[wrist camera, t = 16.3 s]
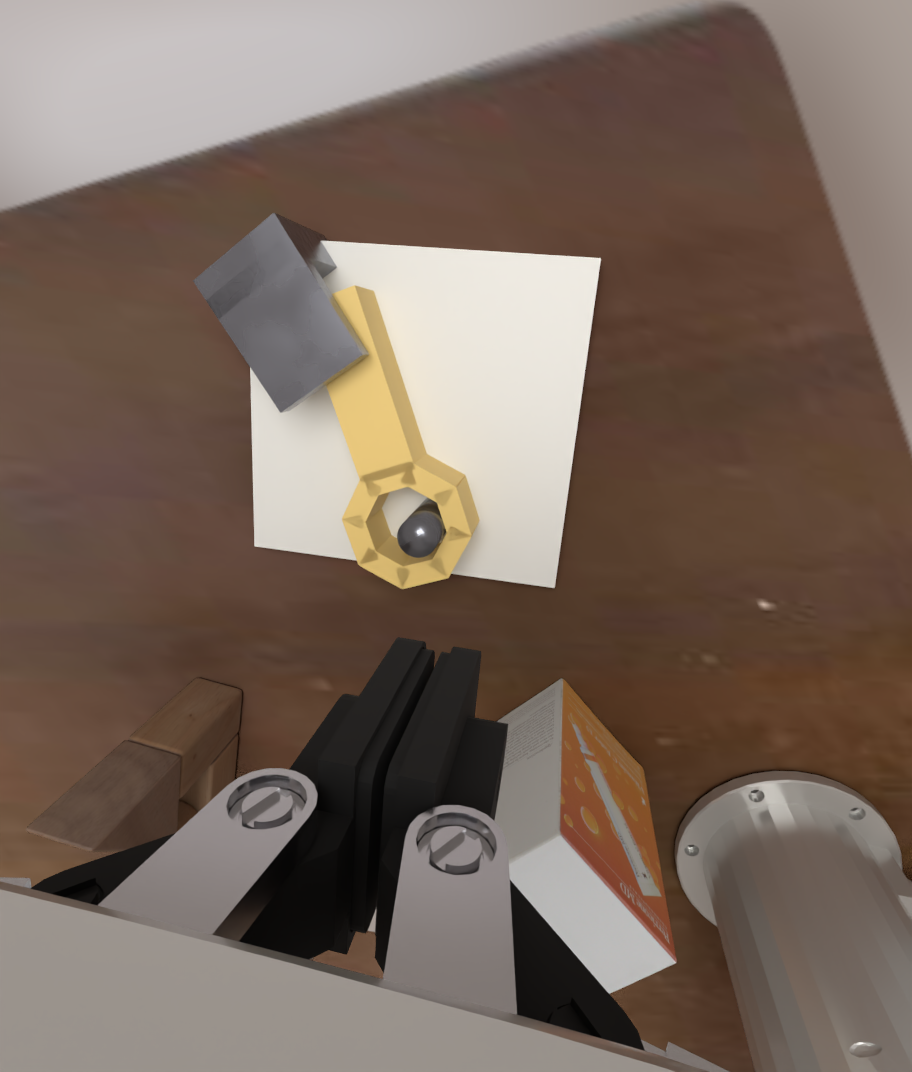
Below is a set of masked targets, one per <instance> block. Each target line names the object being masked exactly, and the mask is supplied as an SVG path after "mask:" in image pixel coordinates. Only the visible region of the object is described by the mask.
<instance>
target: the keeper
mask: <svg viewBox="0 0 912 1072" xmlns="http://www.w3.org/2000/svg"><path fill="white" fill-rule="evenodd" d="M321 241H327V240H326V238H325V236H324V235H322V234H319V233H317V232H315V231H313V230H311V229H309V228H306V227H304V226H302V225H300V224H298V223H295V222H293V221H291V220H289V219H287V218H285V217H282V216H280V215H278V214H276V213H273V214H272V215H270V216H269V217H268V218H267V219H266V220H265V221H263V222H262V223H261V224H260V225H259V226H257V227H256V228H255V229H254V230H253V231H251V232H250V233H249V234H248V235H247V236H246V237H244V238H243V239H242V240H241V241H240V242H238V243H237V244H236V245H235V246H234V247H232V248H231V249H230V250H229V251H228V252H227V253H225V254H224V255H223V256H222V257H221V258H219V259H218V260H217V261H216V262H215V263H214V264H212V265H211V266H210V267H209V268H208V269H206V270H205V271H204V272H203V273H202V274H200V275H199V276H198V277H197V278H196V279H195V280H193V281H194V283H195V285H196V286H197V288H198V289H199V291H200V292H201V294H202V295H203V297H204V298H205V300H206V301H207V303H208V304H209V306H210V307H211V309H212V310H213V312H214V313H215V315H216V316H217V318H218V319H219V321H220V322H221V324H222V325H223V327H224V328H225V330H226V331H227V333H228V334H229V336H230V337H231V339H232V340H233V342H234V343H235V345H236V346H237V348H238V349H239V351H240V352H241V354H242V355H243V357H244V359H245V360H246V362H247V363H248V365H249V366H250V368H251V369H252V371H253V372H254V374H255V375H256V377H257V378H258V380H259V381H260V383H261V384H262V386H263V387H264V389H265V390H266V392H267V393H268V395H269V396H270V398H271V399H272V401H273V402H274V404H275V405H276V407H277V408H278V410H279V411H280V413H282V412H286V411H290V410H291V409H293V408H294V407H296V406H297V405H298V404H300V403H301V402H303V401H304V400H305V399H307V398H308V397H310V396H311V395H313V394H314V393H315V392H317V391H318V390H320V389H321V388H323V387H324V386H325V385H327V384H328V383H330V382H331V381H332V380H334V379H335V378H337V377H338V376H340V375H341V374H342V373H344V372H345V371H347V370H348V369H349V368H351V367H352V366H354V365H355V364H357V363H358V362H359V361H361V360H362V359H364V358H365V357H366V356H368V355H369V353H368V351H367V350H366V348H365V346H364V345H363V343H362V342H361V340H360V338H359V337H358V335H357V334H356V332H355V330H354V329H353V327H352V326H351V324H350V322H349V321H348V319H347V317H346V316H345V314H344V313H343V311H342V309H341V308H340V306H339V305H338V303H337V301H336V300H335V298H334V297H333V295H332V293H331V292H330V290H329V289H328V287H327V285H326V284H325V282H324V281H323V278H324V277H325V276H327V275H328V274H329V273H331V272H332V271H333V270H334V269H336V268H337V266H336V264H335V263H334V261H333V260H332V258H331V256H330V255H329V253H328V252H327V250H326V248H325V247H324V245H323V243H322V242H321Z"/></svg>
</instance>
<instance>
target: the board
mask: <svg viewBox="0 0 912 1072" xmlns="http://www.w3.org/2000/svg"><path fill="white" fill-rule="evenodd" d="M321 242H322V243H323V245H324V247H325V248H326V250H327V252H328V253H329V255H330V256H331V258H332V260H333V261H334V263H335V264H336V266H337V268H336V269H334V270H333V271H332V272H331V273H329V274H328V275H327V276H325V277H324V278H323V281H324V282H325V284H326V285H327V287H328V289H329V290H330V292H331V293H332V294H333V293H335V292H338V291H341V290H343V289H346V288H348V287H351V286H354V285H356V286H359V287H362V288H366V289H369V290H373V291H374V293H375V296H376V299H377V302H378V305H379V308H380V311H381V315H382V318H383V321H384V324H385V327H386V330H387V333H388V336H389V339H390V342H391V345H392V348H393V351H394V354H395V357H396V361H397V364H398V367H399V370H400V373H401V376H402V379H403V382H404V385H405V388H406V391H407V394H408V397H409V400H410V403H411V406H412V410H413V413H414V416H415V419H416V422H417V425H418V428H419V431H420V434H421V437H422V440H423V443H424V446H425V449H426V452H427V454H428V455H430V456H432V457H434V458H435V459H437V460H439V461H441V462H443V463H444V464H446V465H448V466H450V467H452V468H454V469H455V470H457V471H459V472H461V473H463V474H464V475H465V476H466V478H467V481H468V484H469V488H470V491H471V494H472V497H473V500H474V503H475V507H476V510H477V513H478V516H479V519H480V520H479V523H478V525H477V527H476V529H475V531H474V533H473V535H472V537H471V539H470V540H469V542H468V544H467V546H466V548H465V549H464V551H463V553H462V555H461V557H460V558H459V560H458V562H457V564H456V566H455V567H454V569H453V571H452V573H451V574H457V575H464V576H471V577H479V578H486V579H493V580H500V581H507V582H515V583H522V584H529V585H536V586H543V587H550V588H555V582H556V575H557V568H558V561H559V553H560V546H561V539H562V532H563V525H564V518H565V511H566V504H567V496H568V489H569V482H570V475H571V468H572V461H573V454H574V447H575V439H576V432H577V425H578V418H579V411H580V404H581V397H582V390H583V383H584V375H585V368H586V361H587V354H588V347H589V340H590V333H591V326H592V318H593V311H594V304H595V297H596V290H597V283H598V276H599V269H600V261H601V258H589V257H573V256H557V255H541V254H525V253H509V252H493V251H478V250H462V249H446V248H430V247H414V246H398V245H382V244H366V243H350V242H335V241H321ZM250 375H251V417H252V459H253V501H254V543H255V546H256V547H263V548H271V549H278V550H285V551H292V552H299V553H306V554H314V555H321V556H328V557H335V558H342V559H350V560H356V557H355V554H354V551H353V549H352V546H351V543H350V541H349V538H348V535H347V532H346V530H345V527H344V524H343V522H342V517H343V515H344V513H345V511H346V508H347V506H348V504H349V502H350V500H351V498H352V496H353V493H354V491H355V489H356V487H357V485H358V483H359V480H360V479H359V476H358V473H357V471H356V468H355V465H354V462H353V459H352V457H351V454H350V451H349V448H348V445H347V443H346V440H345V437H344V434H343V431H342V429H341V426H340V423H339V420H338V417H337V414H336V412H335V409H334V406H333V403H332V400H331V398H330V395H329V392H328V389H327V386H326V385H325V386H324V387H323V388H321V389H320V390H318V391H317V392H315V393H314V394H313V395H311V396H310V397H308V398H307V399H305V400H304V401H303V402H301V403H300V404H298V405H297V406H296V407H294V408H293V409H291V410H290V411H286V412H282V413H280V411H279V410H278V408H277V407H276V405H275V404H274V402H273V401H272V399H271V398H270V396H269V395H268V393H267V392H266V390H265V389H264V387H263V386H262V384H261V383H260V381H259V380H258V378H257V377H256V375H255V374H254V372H253V371H252V369H251V368H250ZM427 498H428V497H426V496H424V495H422V494H420V493H419V492H417V491H415V490H413V489H411V488H409V487H405V488H402V489H398V490H395V491H391V492H389V494H388V496H387V499H386V501H385V503H384V505H383V507H382V510H383V512H384V515H385V518H386V521H387V524H388V527H389V530H390V532H391V535H392V536H394V537H396V538H397V533H398V530H399V528H400V526H401V525H402V524H403V522H404V521H405V520H406V519H407V518H408V517H409V516H410V515H411V514H412V513H413V512H414V511H415V510H416V509H417V508H418V506H419V505H420V504H421V503H422V502H423V501H424V500H425V499H427ZM446 533H447V532H446ZM446 533H445V534H444V536H443V537H442V539H441V540H440V542H439V543H442V541H443V539H444V537H445V535H446Z"/></svg>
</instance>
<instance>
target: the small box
mask: <svg viewBox="0 0 912 1072" xmlns="http://www.w3.org/2000/svg"><path fill="white" fill-rule="evenodd" d="M497 722H501V723H506V724H508V732H507V740H506V748H505V756H504V763H503V771H502V778H501V784H500V791H499V797H498V803H497V809H496V815H495V820H494V821H495V822H496V823H497V824H498V825H499V827H500V828H501V830H502V831H503V833H504V834H505V837H506V841H507V845H508V857H509V875H510V880H511V881H512V882H513V883H514V885H515V886H516V887H517V888H518V889H519V890H520V892H521V893H522V894H523V895H524V896H525V897H526V899H527V900H528V901H529V902H530V903H531V904H532V905H533V907H534V908H535V909H536V910H537V911H538V912H539V914H540V915H541V916H542V917H543V918H544V919H545V920H546V922H547V923H548V924H549V925H550V926H551V927H552V929H553V930H554V931H555V932H556V933H557V934H558V935H559V937H560V938H561V939H562V940H563V941H564V942H565V944H566V945H567V946H568V947H569V948H570V949H571V950H572V952H573V953H574V954H575V955H576V956H577V957H578V959H579V960H580V961H581V962H582V963H583V964H584V965H585V967H586V968H587V969H588V970H589V971H590V972H591V974H592V975H593V976H594V977H595V978H596V979H597V980H598V982H599V983H600V984H601V985H602V986H603V987H604V989H605V990H606V991H607V992H608V993H609V994H610V993H612V992H614V991H617V990H619V989H621V988H623V987H626V986H628V985H630V984H632V983H634V982H636V981H638V980H641V979H643V978H645V977H648V976H650V975H652V974H654V973H656V972H658V971H660V970H662V969H664V968H666V967H669V966H671V965H673V964H675V963H676V962H677V959H676V955H675V948H674V943H673V937H672V932H671V926H670V920H669V914H668V909H667V903H666V897H665V891H664V885H663V879H662V873H661V868H660V861H659V856H658V850H657V844H656V839H655V833H654V827H653V821H652V816H651V810H650V803H649V797H648V792H647V785H646V780H645V774H644V769H643V768H642V766H641V765H640V764H639V763H638V762H637V761H636V760H635V759H634V758H633V757H632V756H631V755H630V754H629V753H628V752H627V751H626V750H625V749H624V747H623V746H622V745H621V744H620V743H619V742H618V741H617V740H616V739H615V738H614V736H613V735H612V734H611V733H610V732H609V731H608V730H607V729H606V727H605V726H604V725H603V724H602V723H601V722H600V721H599V719H598V718H597V717H596V716H595V715H594V714H593V713H592V711H591V710H590V709H589V708H588V707H587V706H586V704H585V703H584V702H583V701H582V700H581V699H580V697H579V696H578V695H577V694H576V693H575V692H574V690H573V689H572V688H571V687H570V686H569V685H568V683H567V682H566V681H565V680H564V679H559V680H558V681H556V682H555V683H554V684H552V685H551V686H549V687H548V688H546V689H545V690H543V691H542V692H540V693H538V694H537V695H536V696H534V697H533V698H531V699H530V700H528V701H527V702H525V703H524V704H522V705H520V706H519V707H517V708H516V709H514V710H513V711H511V712H510V713H508V714H507V715H505V716H504V717H502V718H501V719H500V720H498V721H497Z"/></svg>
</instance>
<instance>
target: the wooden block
mask: <svg viewBox="0 0 912 1072" xmlns="http://www.w3.org/2000/svg"><path fill="white" fill-rule="evenodd" d="M241 702H242V690H240V689H238V688H235V687H231V686H228V685H224V684H220V683H217V682H213V681H209V680H206V679H202V678H196V679H194V680H193V681H192V682H191V683H189V684H188V685H187V686H186V687H185V688H184V689H183V690H182V691H180V692H179V693H178V694H177V695H176V696H175V697H174V698H173V699H171V700H170V701H169V702H168V703H167V704H166V705H165V706H164V707H162V708H161V709H160V710H159V711H158V712H157V713H156V714H155V715H153V716H152V717H151V718H150V719H149V720H148V721H147V722H146V723H144V724H143V725H142V726H141V727H140V728H139V729H138V730H137V731H135V732H134V733H133V734H132V735H131V736H130V738H129V740H125V741H123V742H122V743H121V744H120V745H119V746H118V747H117V748H116V749H114V750H113V751H112V752H111V753H110V754H109V755H108V756H106V757H105V758H104V759H103V760H102V761H101V762H100V763H99V764H97V765H96V766H95V767H94V768H93V769H92V770H91V771H90V772H88V773H87V774H86V775H85V776H84V777H83V778H82V779H81V780H79V781H78V782H77V783H76V784H75V785H74V786H73V787H72V788H70V789H69V790H68V791H67V792H66V793H65V794H64V795H63V796H61V797H60V798H59V799H58V800H57V801H56V802H55V803H53V804H52V805H51V806H50V807H49V808H48V809H47V810H46V811H44V812H43V813H42V814H41V815H40V816H39V817H38V818H37V819H35V820H34V821H33V822H32V823H31V824H30V825H29V826H28V827H27V828H26V831H27V832H28V833H31V834H34V835H37V836H40V837H43V838H46V839H50V840H53V841H56V842H59V843H62V844H65V845H69V846H72V847H75V848H78V849H81V850H84V851H88V852H117V851H119V852H121V851H124V850H126V849H129V848H132V847H135V846H138V845H141V844H144V843H147V842H150V841H153V840H156V839H159V838H162V837H165V836H168V835H171V834H174V833H176V832H177V831H179V830H180V829H181V828H182V827H183V826H184V825H185V824H186V823H187V822H188V821H189V820H190V819H192V818H193V817H194V816H195V815H196V814H197V813H198V812H199V811H200V810H201V809H202V808H203V807H205V806H206V805H207V804H208V803H209V802H210V801H211V800H212V799H213V798H214V797H215V796H216V795H218V794H219V793H220V792H221V791H222V790H223V789H224V788H225V787H226V786H227V785H229V784H230V783H232V782H233V781H234V780H235V769H236V758H237V746H238V734H237V732H238V731H239V725H240V714H241Z"/></svg>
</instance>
